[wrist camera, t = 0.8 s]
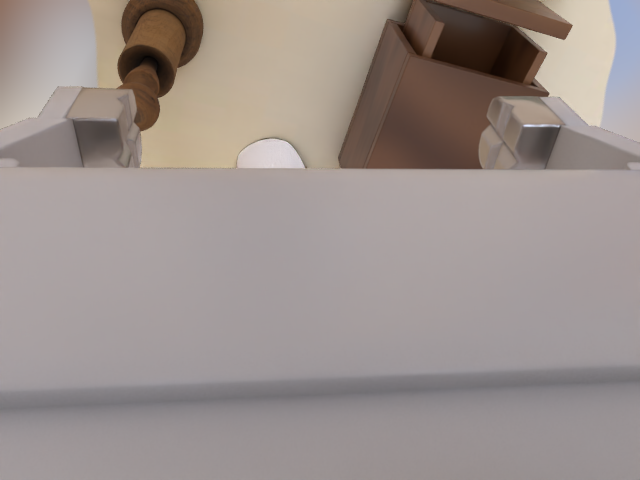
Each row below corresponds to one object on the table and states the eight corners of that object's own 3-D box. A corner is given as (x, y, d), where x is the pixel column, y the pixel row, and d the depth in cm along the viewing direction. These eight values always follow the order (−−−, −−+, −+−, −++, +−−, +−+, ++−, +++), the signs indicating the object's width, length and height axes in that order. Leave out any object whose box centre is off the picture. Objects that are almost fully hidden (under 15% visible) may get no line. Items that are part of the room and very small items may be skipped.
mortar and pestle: (133, -31, 45) (83, 48, 31) (212, -2, 47) (197, 84, 33) (119, 46, 49) (68, 147, 35) (192, 70, 51) (172, 175, 37)
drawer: (423, -55, 46) (448, -33, 40) (542, -16, 49) (581, 9, 43) (364, 108, 54) (378, 145, 48) (468, 133, 57) (493, 170, 51)
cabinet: (387, 18, 50) (410, 55, 43) (509, 53, 53) (550, 93, 46) (337, 158, 58) (350, 208, 51) (446, 180, 62) (472, 231, 54)
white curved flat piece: (276, 237, 64) (277, 250, 62) (226, 153, 57) (225, 165, 55) (331, 216, 63) (333, 228, 61) (287, 128, 56) (288, 139, 54)
